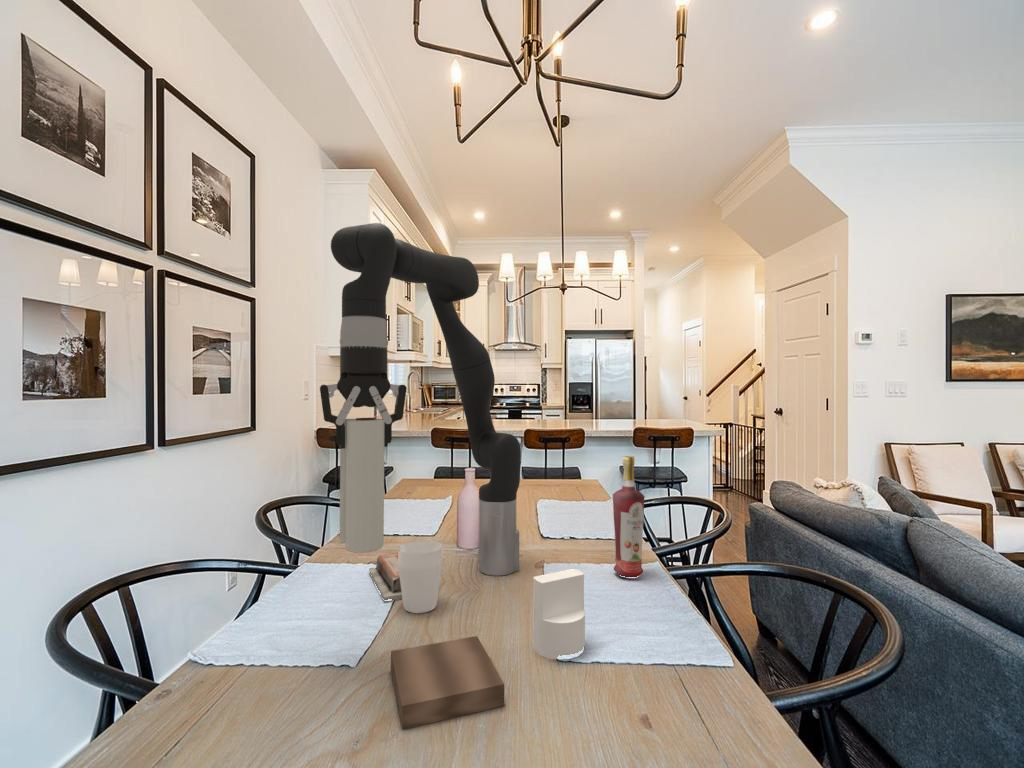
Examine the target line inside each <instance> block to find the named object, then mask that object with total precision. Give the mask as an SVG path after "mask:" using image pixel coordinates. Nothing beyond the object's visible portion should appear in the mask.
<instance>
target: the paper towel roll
mask: <svg viewBox="0 0 1024 768" xmlns="http://www.w3.org/2000/svg"><path fill="white" fill-rule="evenodd" d="M344 425H345V449H341V448H340V451H339V452H340V453H339V456H340V459H339V461H340V463H339V467H340V468H339V469H340V470H339V544H344V545H345V550H346V551H347V552H349V553H354V554H364V553H372V552H376V551H378V550H380V549H382V548H383V547H384V544H385V541H384V537H385V535H384V534H385V533H384V532H385V529H384V528H385V527H384V524H385V523H384V522H385V520H384V519H385V517H384V516H385V447H384V425H385V421H384V420H383V419H382V418H376V417H357V418H346V419H345V421H344Z"/></svg>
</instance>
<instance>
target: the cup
mask: <svg viewBox="0 0 1024 768" xmlns="http://www.w3.org/2000/svg"><path fill="white" fill-rule="evenodd" d="M397 553H398V570H399V577H400V584H401V591H402V599H401V600H402V606H403V609H404V610H405V611H406V612H409V613H412V614H423V613H427V612H430V611H433V610H434V609H436V607H437V606H438V600H439V592H440V584H441V578H442V571H443V564H444V556H443V555H444V553H443V545H442V543H441V542H439V541H435V540H427V539H426V540H425V539H421V540H412V541H408V542H404V543H402V544H400V546H399V547H398V552H397Z"/></svg>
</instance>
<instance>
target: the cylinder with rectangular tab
mask: <svg viewBox="0 0 1024 768" xmlns="http://www.w3.org/2000/svg"><path fill="white" fill-rule="evenodd" d="M532 578H533V579H532V581H533V582H532V585H533V586H532V591H533V592H532V593H533V595H532V597H533V599H532V601H533V602H532V604H533V605H532V648H533V650H534V651H535V653H537V654H538V655H540V656H541V657H544V658H546V659H551V660H554V659H555V660H556V659H557V657H558V656H559V655H560V656H562V655H570V654H575V653H578V652H579V651H581V650H582V649H583V647H584V646H585V647H586V610H585V574H584V573H583V572H582V570H581V571H580V570H579V569H577V568H571V569H567V570H566V569H565V570H561V571H556V572H551V573H546V574H542V575H536V576H533V577H532Z"/></svg>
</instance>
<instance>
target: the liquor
mask: <svg viewBox="0 0 1024 768" xmlns="http://www.w3.org/2000/svg"><path fill="white" fill-rule="evenodd" d="M622 467H623V476H622V484H621V485H622V486H621V489H618V490H617V491H615V492H614V493H613V494H612V505H613V506H612V507H613V509H612V510H613V528H614V529H613V530H614V549H615V550H614V551H615V552H614V553H615V554H614V555H615V556H614V558H615V564H614V567H613V571H614V572H616V574H617V575H618V574H619V575H621V576H625V577H637V576H639V577H640V576H641V575H642V574H643V573H644V568H643V567H642V565H643V564H642V557H643V534H644V533H643V532H644V517H645V515H644V514H645V495H644V494H643V493H642V492H641V491H639V490H637V489H636V484H635V473H634V471H635V470H634V469H635V456H633V455H624V456H622ZM619 575H618V576H619ZM621 576H620V577H621Z"/></svg>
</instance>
